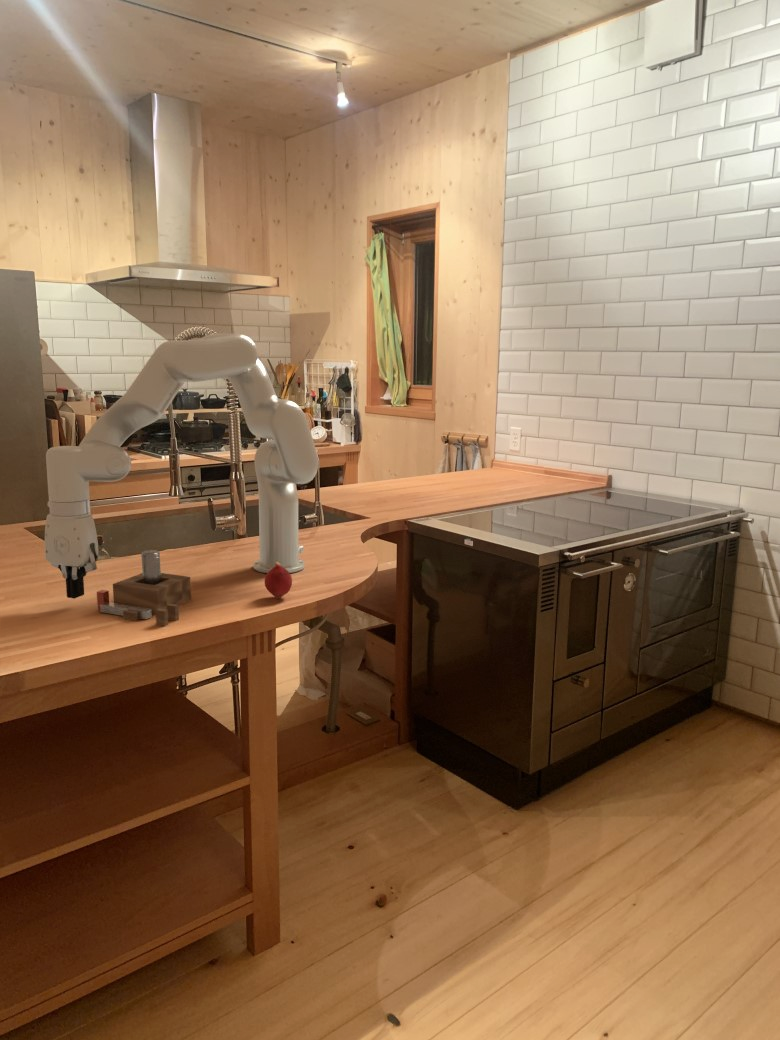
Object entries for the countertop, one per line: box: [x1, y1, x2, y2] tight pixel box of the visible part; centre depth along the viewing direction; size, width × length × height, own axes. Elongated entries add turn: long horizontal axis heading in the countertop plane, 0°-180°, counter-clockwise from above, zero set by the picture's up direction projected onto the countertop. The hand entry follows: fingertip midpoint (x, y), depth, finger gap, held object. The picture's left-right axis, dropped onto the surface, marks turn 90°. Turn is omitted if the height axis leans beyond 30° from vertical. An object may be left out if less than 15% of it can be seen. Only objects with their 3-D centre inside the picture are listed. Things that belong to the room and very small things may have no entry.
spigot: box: [140, 549, 162, 585], centre depth 160 cm, size 4×4×10 cm
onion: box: [264, 562, 293, 599], centre depth 166 cm, size 6×6×8 cm
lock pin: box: [96, 589, 153, 620], centre depth 153 cm, size 2×12×4 cm, turn 69°
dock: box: [112, 572, 192, 627], centre depth 158 cm, size 16×16×5 cm
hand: (75, 596), depth 158 cm, fingers closed
